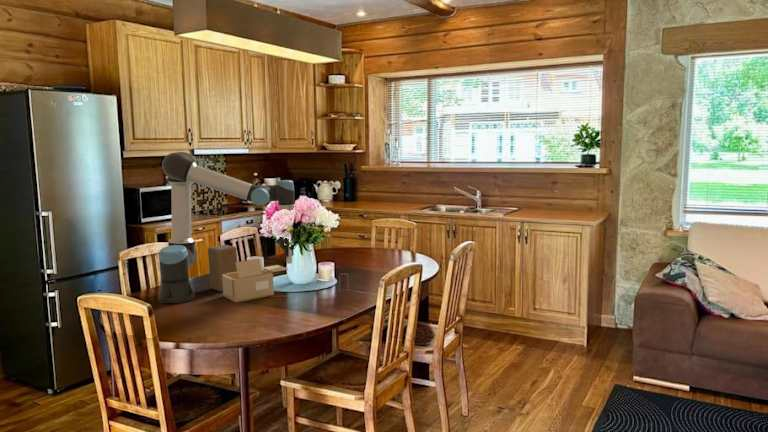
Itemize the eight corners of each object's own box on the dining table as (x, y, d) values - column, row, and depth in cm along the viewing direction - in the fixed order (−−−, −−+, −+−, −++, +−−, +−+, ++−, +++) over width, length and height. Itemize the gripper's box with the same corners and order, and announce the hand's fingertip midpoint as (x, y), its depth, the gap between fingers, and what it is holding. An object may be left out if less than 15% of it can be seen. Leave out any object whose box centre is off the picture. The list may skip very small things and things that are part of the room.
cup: (267, 276, 298) (266, 256, 296) (253, 281, 287) (252, 261, 286) (254, 275, 301) (253, 255, 300) (239, 280, 290) (238, 260, 289)
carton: (234, 303, 250) (233, 280, 249) (220, 296, 262) (219, 274, 261) (274, 295, 261) (273, 273, 260) (259, 288, 273) (258, 267, 272)
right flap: (287, 268, 267) (287, 269, 267) (277, 264, 275) (277, 266, 275) (271, 271, 262) (271, 272, 262) (262, 267, 270) (262, 268, 270)
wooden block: (239, 287, 276) (237, 246, 273) (220, 292, 269) (218, 249, 266) (228, 284, 283) (225, 244, 280) (209, 288, 276) (206, 247, 273)
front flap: (238, 278, 251) (239, 277, 250) (235, 262, 252) (235, 262, 252) (262, 274, 257) (262, 273, 257) (258, 259, 259) (259, 258, 258)
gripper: (278, 215, 264) (280, 266, 267) (303, 212, 272) (305, 262, 275) (270, 214, 270) (273, 263, 273) (295, 211, 278) (297, 259, 281)
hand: (289, 263), depth 274 cm, fingers closed
